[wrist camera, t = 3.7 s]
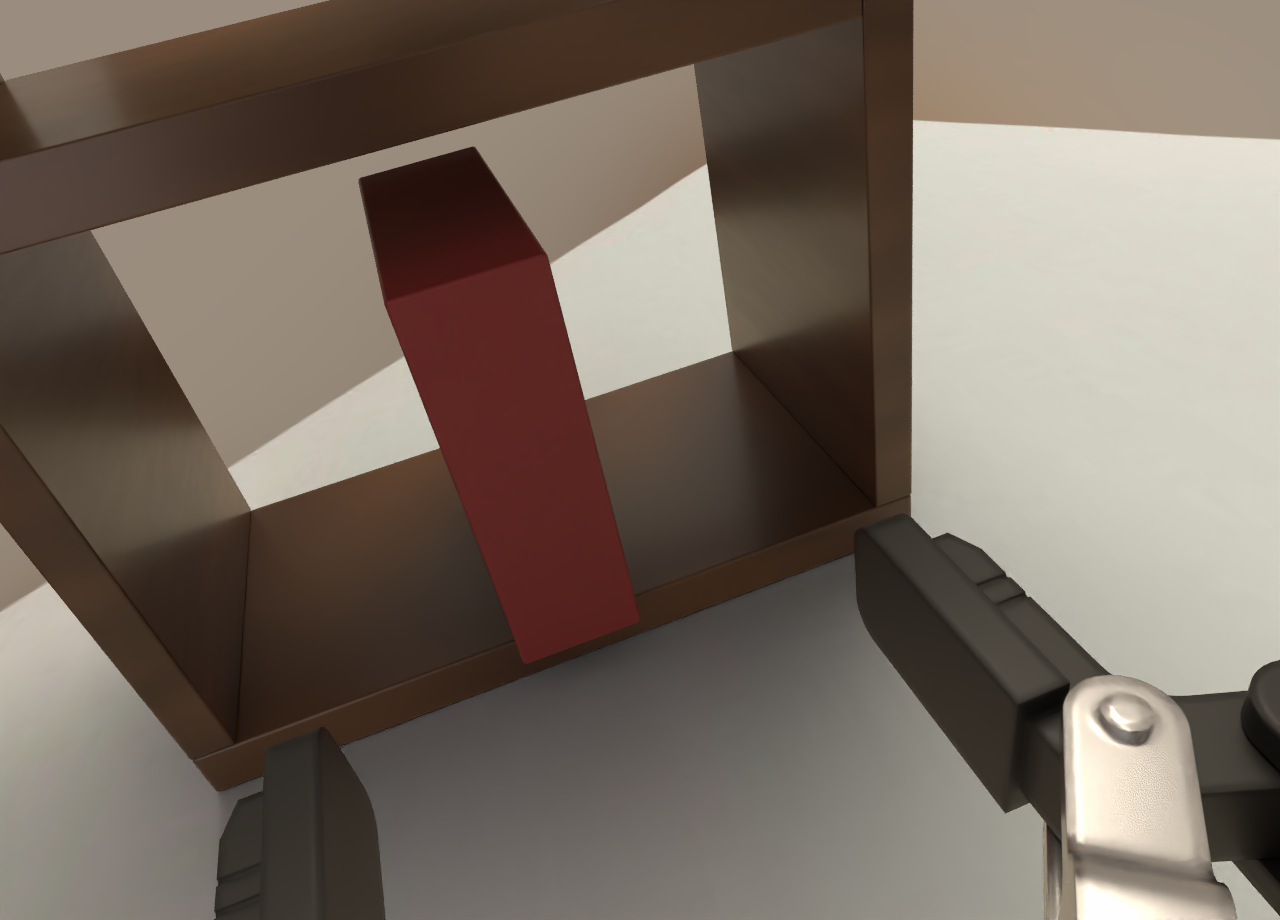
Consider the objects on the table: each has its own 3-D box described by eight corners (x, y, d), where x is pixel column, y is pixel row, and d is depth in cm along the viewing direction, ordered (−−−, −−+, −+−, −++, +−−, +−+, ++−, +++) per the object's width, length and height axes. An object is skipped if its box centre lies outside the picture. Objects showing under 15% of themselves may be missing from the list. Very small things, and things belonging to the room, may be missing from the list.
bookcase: (763, 373, 36) (613, -964, 18) (912, 531, 28) (923, -1776, 9) (236, 550, 33) (-623, -860, 14) (216, 794, 24) (-2007, -1968, 6)
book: (563, 452, 32) (474, 144, 25) (642, 622, 25) (547, 252, 18) (471, 483, 31) (356, 177, 25) (524, 666, 24) (383, 302, 18)
